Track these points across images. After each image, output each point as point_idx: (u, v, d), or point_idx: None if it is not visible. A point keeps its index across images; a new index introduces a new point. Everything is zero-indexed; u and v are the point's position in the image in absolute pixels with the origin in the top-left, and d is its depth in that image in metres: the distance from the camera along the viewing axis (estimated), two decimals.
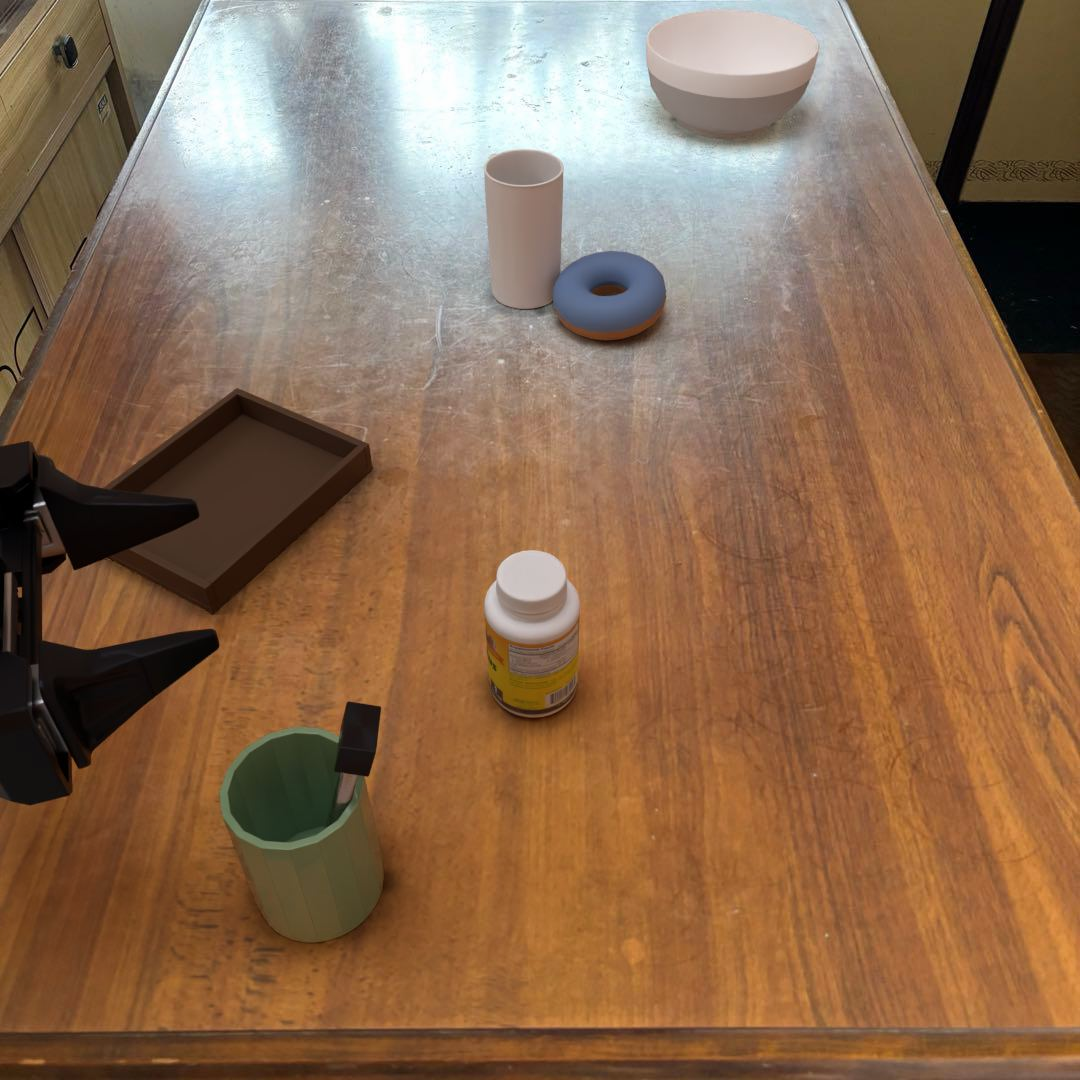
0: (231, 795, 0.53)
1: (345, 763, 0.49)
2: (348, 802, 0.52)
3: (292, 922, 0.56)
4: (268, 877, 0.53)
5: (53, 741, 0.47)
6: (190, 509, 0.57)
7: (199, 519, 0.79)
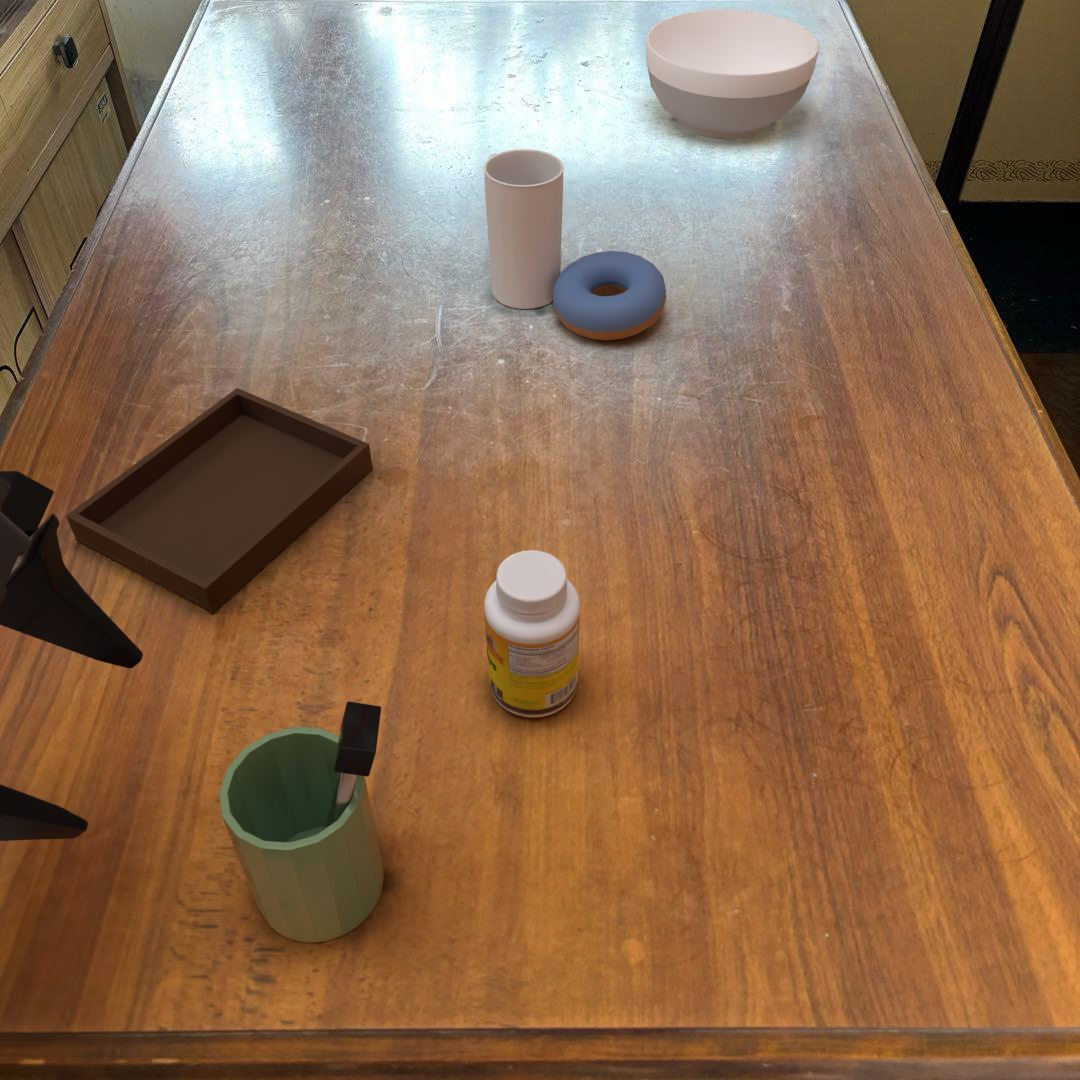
0: (231, 795, 0.53)
1: (345, 763, 0.49)
2: (348, 802, 0.52)
3: (292, 922, 0.56)
4: (268, 877, 0.53)
5: None
6: (132, 660, 0.53)
7: (199, 519, 0.79)
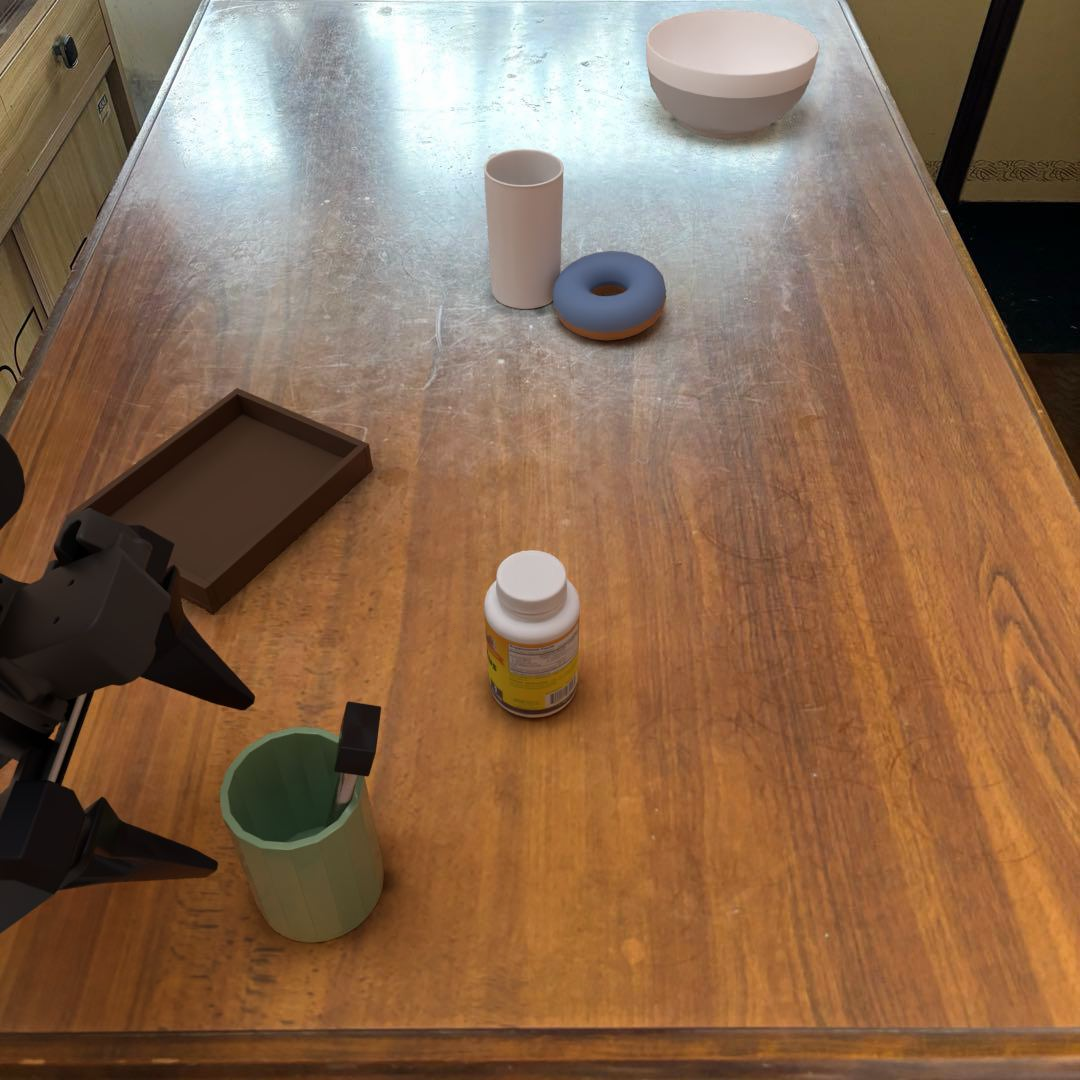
0: (231, 795, 0.53)
1: (345, 763, 0.49)
2: (348, 802, 0.52)
3: (292, 922, 0.56)
4: (268, 877, 0.53)
5: None
6: (246, 702, 0.56)
7: (199, 519, 0.79)
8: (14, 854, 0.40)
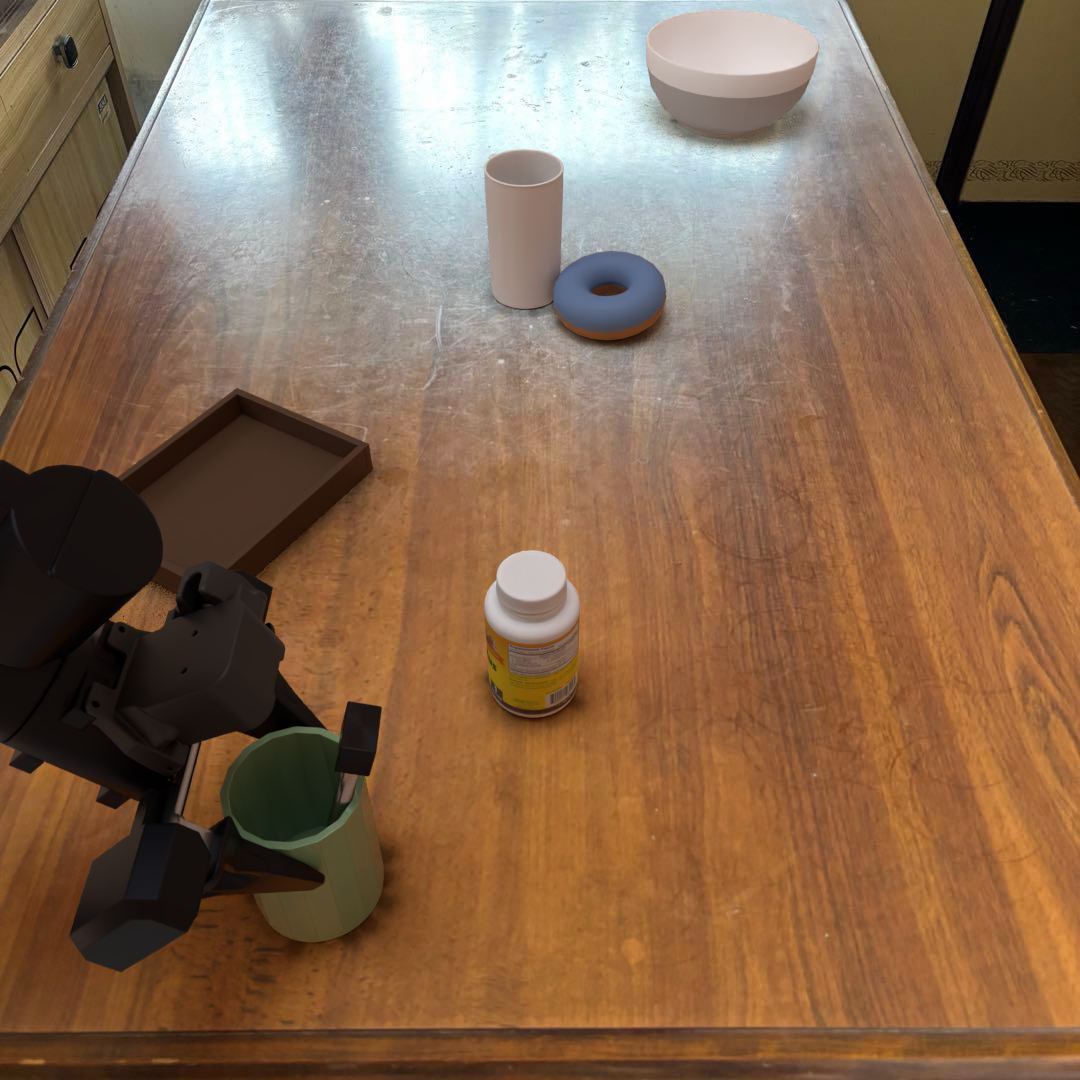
0: (232, 794, 0.53)
1: (345, 763, 0.49)
2: (348, 802, 0.52)
3: (292, 922, 0.56)
4: None
5: None
6: None
7: (199, 519, 0.79)
8: (150, 895, 0.43)
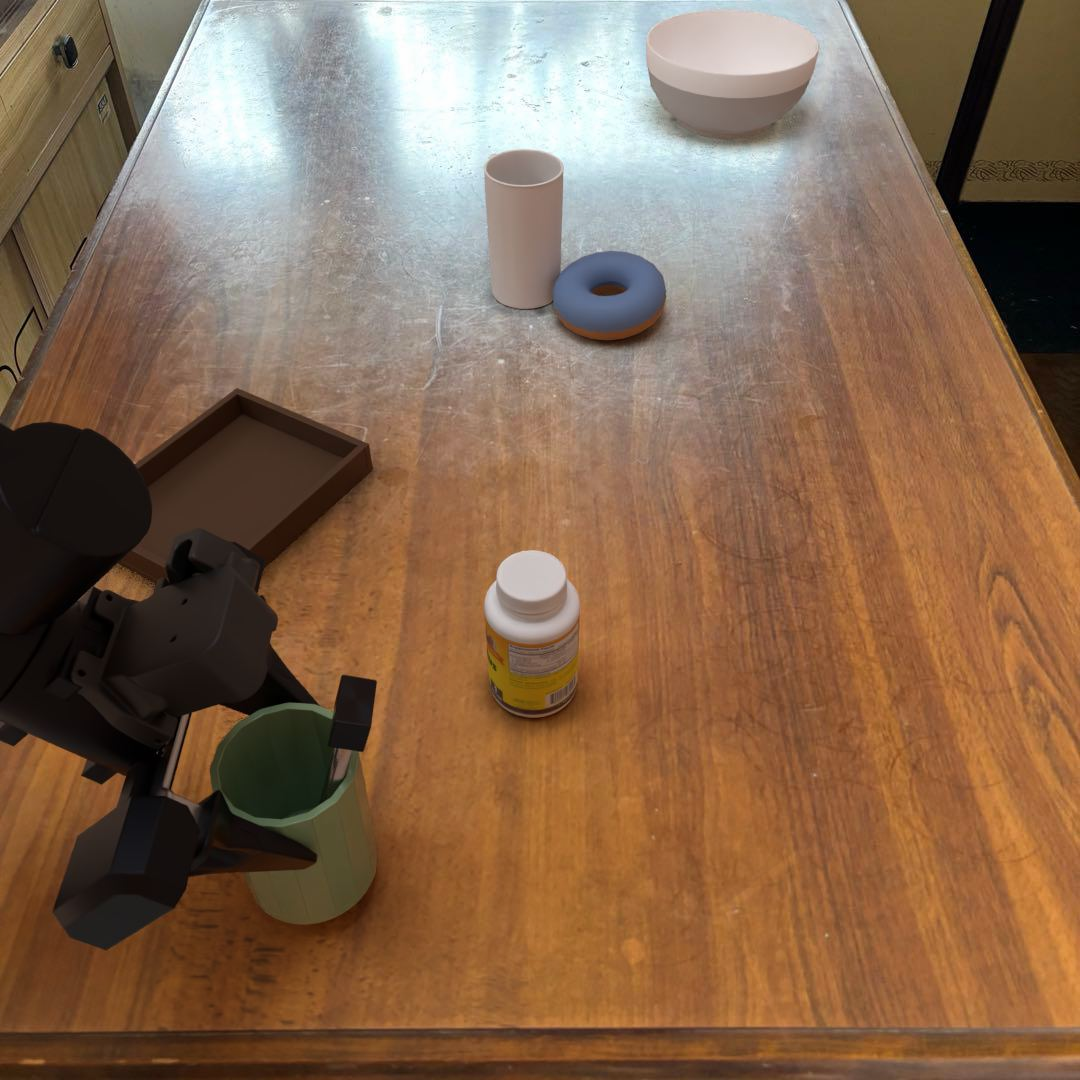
0: (222, 771, 0.52)
1: (339, 738, 0.48)
2: (342, 779, 0.51)
3: (283, 903, 0.54)
4: None
5: None
6: None
7: (199, 519, 0.79)
8: (137, 869, 0.41)
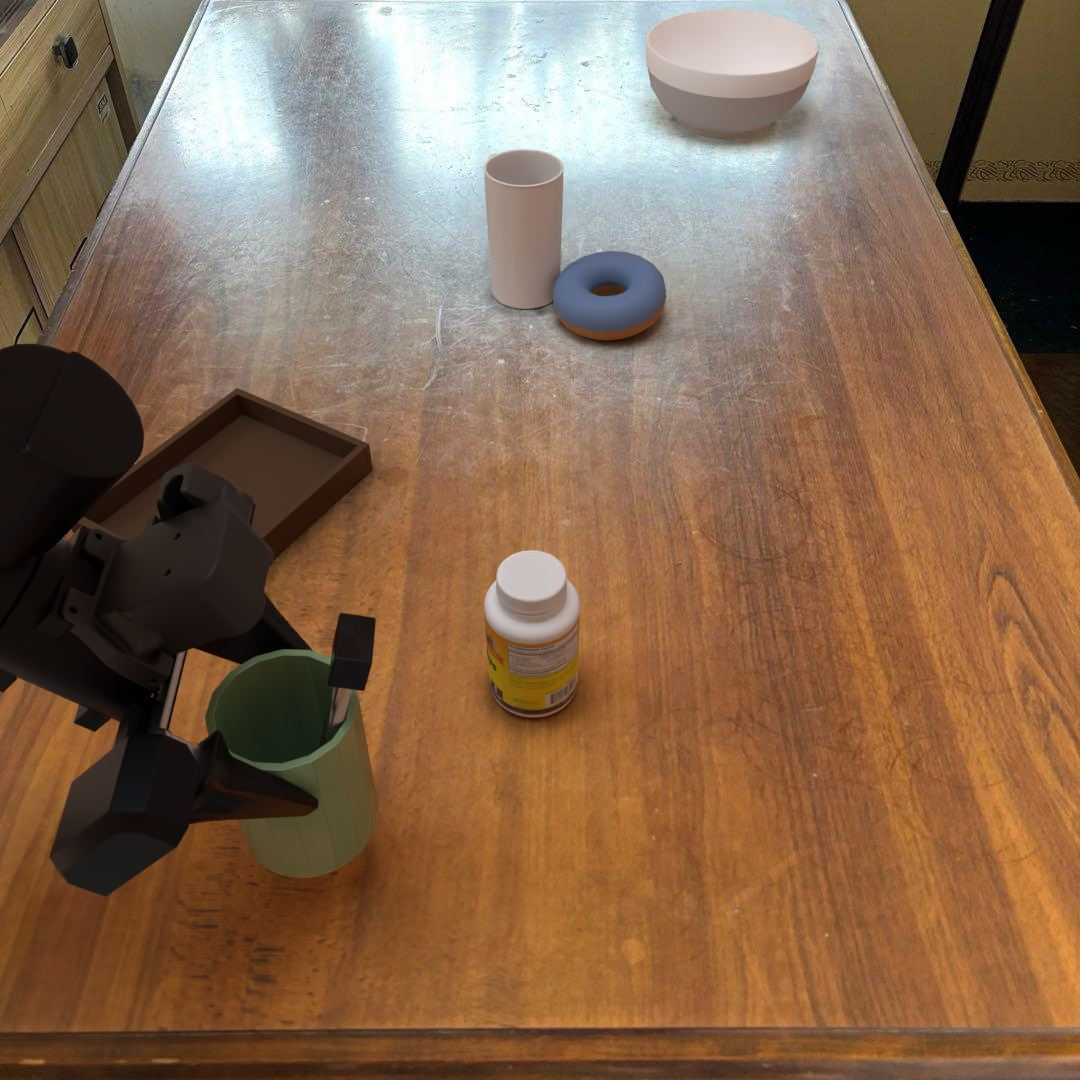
0: (218, 719, 0.51)
1: (339, 676, 0.47)
2: (342, 722, 0.50)
3: (283, 855, 0.53)
4: None
5: None
6: None
7: None
8: (138, 806, 0.40)
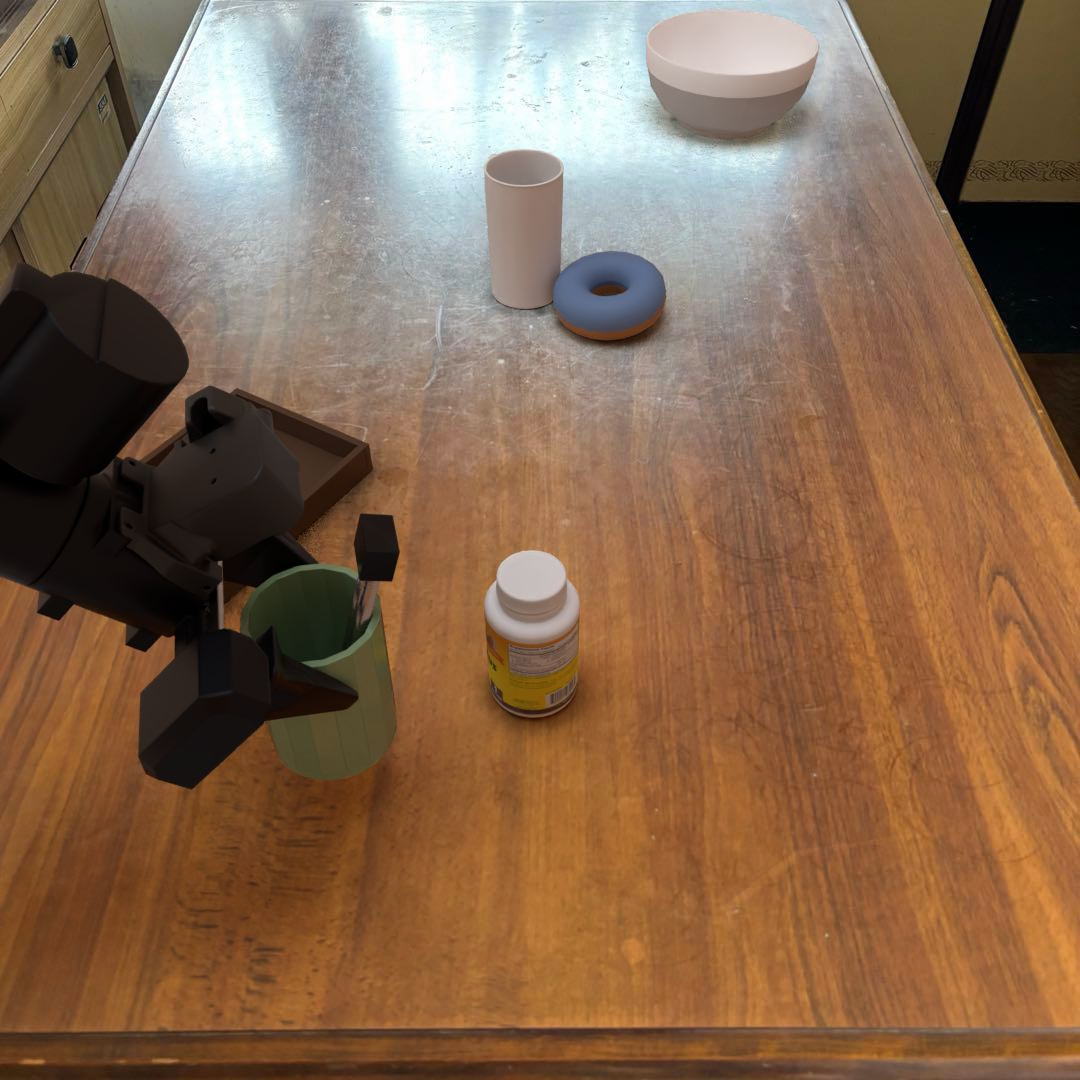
0: (250, 634, 0.54)
1: (370, 568, 0.51)
2: (369, 618, 0.54)
3: (323, 757, 0.57)
4: None
5: None
6: None
7: None
8: (225, 689, 0.44)
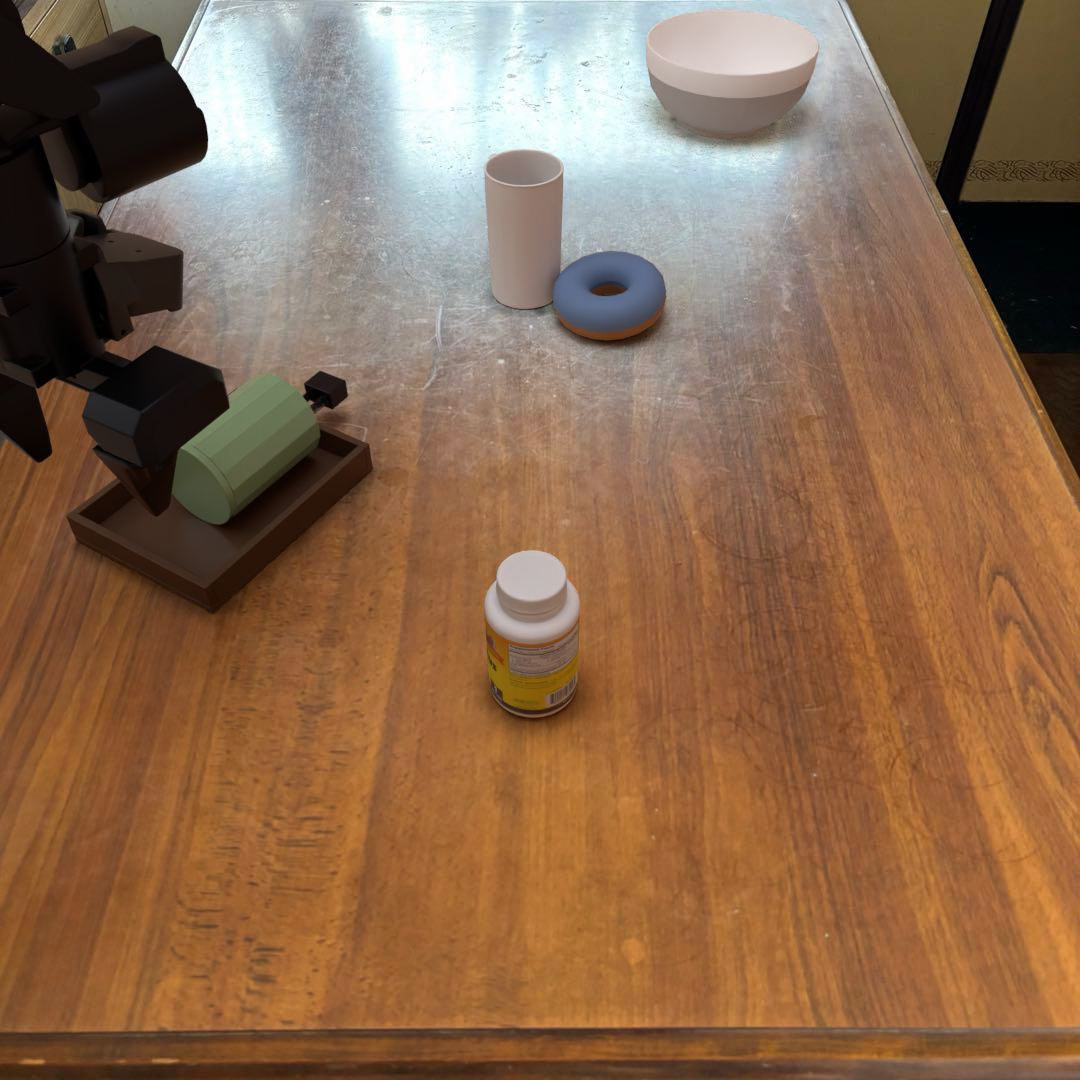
0: None
1: (337, 391, 0.85)
2: None
3: (249, 480, 0.76)
4: (291, 440, 0.79)
5: None
6: (47, 452, 0.65)
7: (199, 519, 0.79)
8: (215, 368, 0.55)
